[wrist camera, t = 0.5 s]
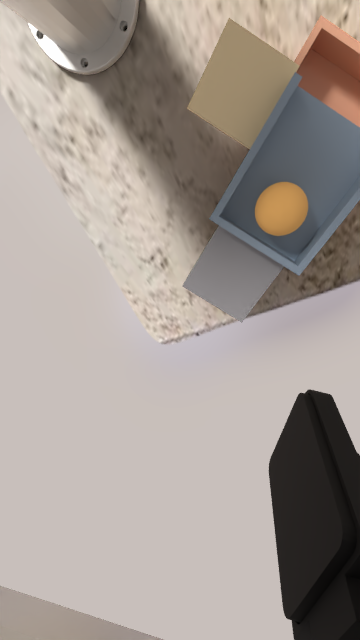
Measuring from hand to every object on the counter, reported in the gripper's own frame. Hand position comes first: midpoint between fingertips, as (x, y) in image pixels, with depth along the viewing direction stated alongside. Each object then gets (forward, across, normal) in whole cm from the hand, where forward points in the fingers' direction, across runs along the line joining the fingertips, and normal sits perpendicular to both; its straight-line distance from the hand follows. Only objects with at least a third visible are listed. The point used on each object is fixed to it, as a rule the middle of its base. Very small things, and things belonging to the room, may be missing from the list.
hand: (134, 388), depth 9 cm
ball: (+19, -5, -5) cm, 21 cm away
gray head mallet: (+26, -2, -5) cm, 27 cm away
